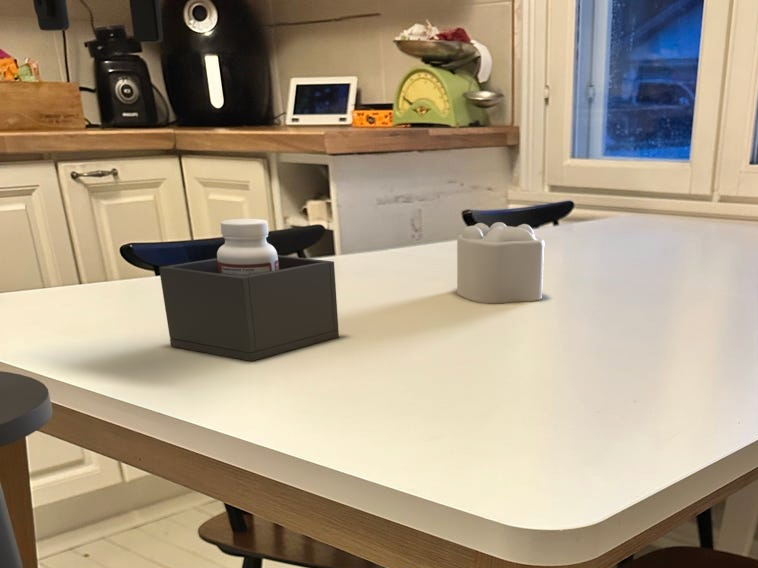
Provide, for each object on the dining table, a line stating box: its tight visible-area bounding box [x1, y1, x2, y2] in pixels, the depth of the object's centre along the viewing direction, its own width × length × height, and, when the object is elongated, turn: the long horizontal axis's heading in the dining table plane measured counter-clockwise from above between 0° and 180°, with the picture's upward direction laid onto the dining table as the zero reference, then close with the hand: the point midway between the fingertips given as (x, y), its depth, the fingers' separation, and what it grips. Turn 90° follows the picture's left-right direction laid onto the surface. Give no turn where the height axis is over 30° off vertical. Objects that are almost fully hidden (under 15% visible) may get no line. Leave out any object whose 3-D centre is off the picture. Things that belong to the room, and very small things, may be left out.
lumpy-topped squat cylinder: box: [456, 221, 545, 304], centre depth 123 cm, size 10×13×9 cm
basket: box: [158, 254, 340, 362], centre depth 97 cm, size 14×12×8 cm
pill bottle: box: [216, 218, 279, 277], centre depth 96 cm, size 6×6×11 cm
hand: (103, 36), depth 80 cm, fingers open, 9 cm apart
